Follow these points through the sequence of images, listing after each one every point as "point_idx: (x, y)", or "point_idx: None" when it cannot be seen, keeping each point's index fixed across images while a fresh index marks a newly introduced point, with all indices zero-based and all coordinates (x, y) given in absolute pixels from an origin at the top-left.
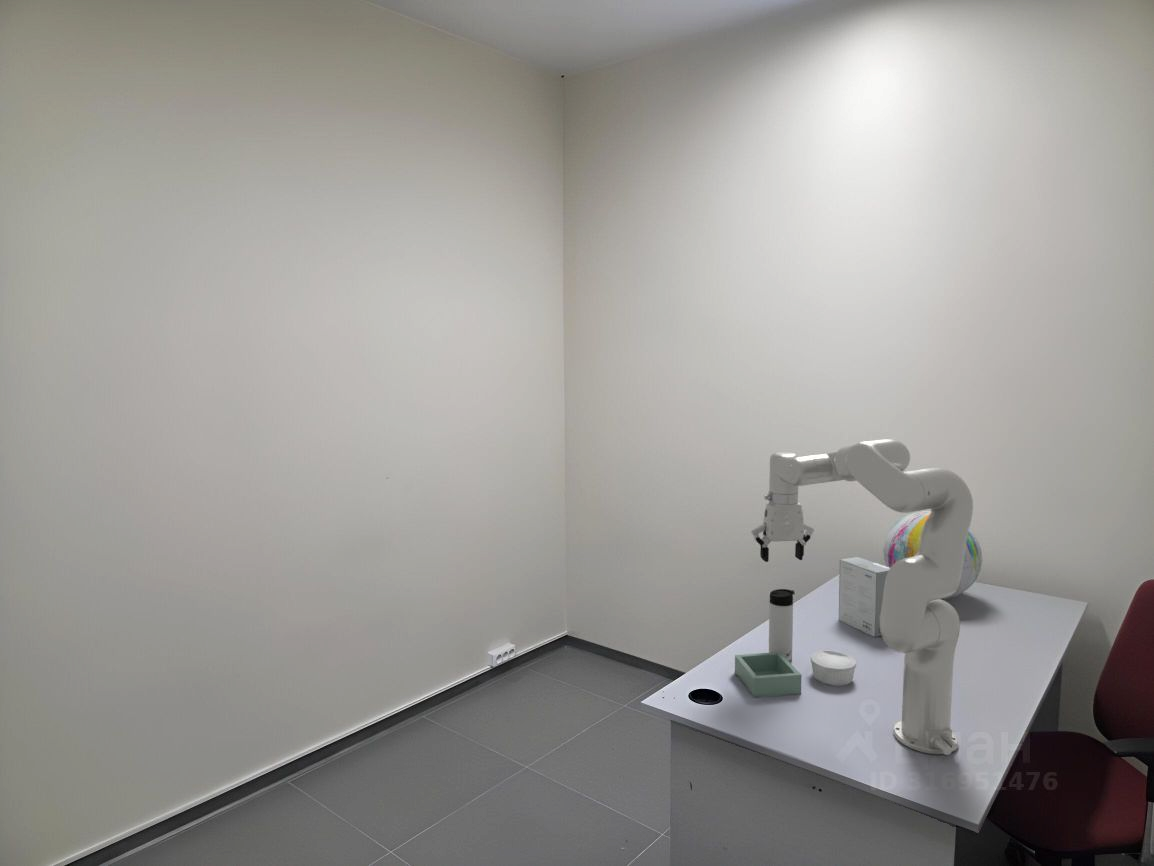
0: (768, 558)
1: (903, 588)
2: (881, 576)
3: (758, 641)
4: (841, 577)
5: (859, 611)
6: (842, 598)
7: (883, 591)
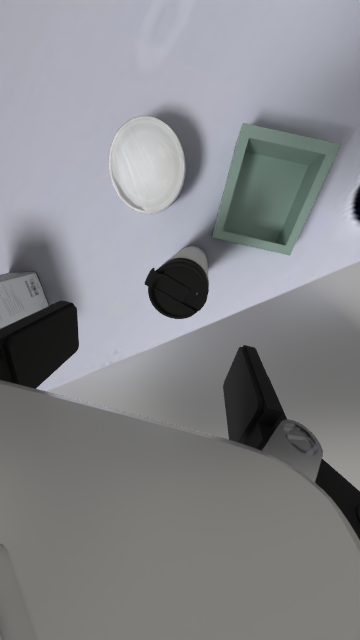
0: (243, 355)
1: None
2: None
3: (183, 320)
4: None
5: (24, 307)
6: None
7: None
